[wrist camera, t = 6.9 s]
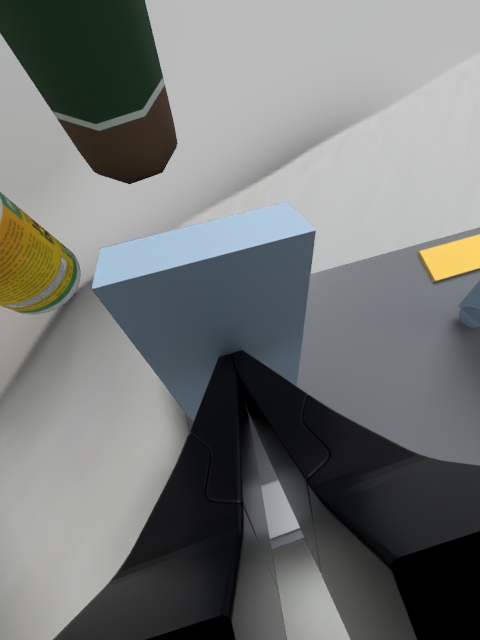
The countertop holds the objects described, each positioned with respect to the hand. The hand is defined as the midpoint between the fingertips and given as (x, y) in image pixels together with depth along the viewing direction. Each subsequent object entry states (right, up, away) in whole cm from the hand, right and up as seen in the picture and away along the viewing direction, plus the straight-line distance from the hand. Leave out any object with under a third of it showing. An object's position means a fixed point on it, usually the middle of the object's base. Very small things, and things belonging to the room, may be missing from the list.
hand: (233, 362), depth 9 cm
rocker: (0, -2, +3) cm, 4 cm away
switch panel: (+8, -2, +8) cm, 11 cm away
